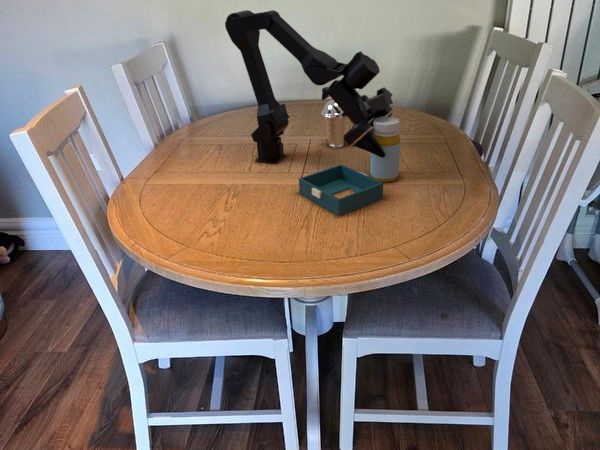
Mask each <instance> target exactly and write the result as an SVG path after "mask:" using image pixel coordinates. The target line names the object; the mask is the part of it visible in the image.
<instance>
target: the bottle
mask: <svg viewBox="0 0 600 450" xmlns="http://www.w3.org/2000/svg"><path fill="white" fill-rule="evenodd" d="M372 128H374V138H375V139H376V140H377V142H378V143H379V145H380V146H381V148H382V149H383V151H384V152H385V154H386V156H385V157H383V158H381V157H379V156H377V155H375V154H373V153H370V171H369V172H370V173H369V174H370V178H373V179H375V180H377V181H379V182H381V183H383V184H384V183H386V184H387V183H392V182H394V181H396V180H397V179H398V178H399V171H400V169H399V168H400V155H401V154H400V153H401V137H400V119H399V118H397V117H395V116H391V117H378V118H376V119H374V121H373V127H372Z"/></svg>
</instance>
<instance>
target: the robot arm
mask: <svg viewBox="0 0 600 450" xmlns="http://www.w3.org/2000/svg"><path fill="white" fill-rule="evenodd" d="M224 26H225V30H226V33H227V35H228V37H229V39H230V40H231V43H233V45H234V46H235V47H236V48H237V49H238V50H239V52H240V55H241V57H242V60H243V63H244V66H245V70H246V72H247V74H248V78H249V82H250V85H251V88H252V90H253V94H254V97H255V101H256V104H257V112H256V121H257V126H258V127H256V128H255V129H254V131H253V132H252V133H251V135H250V136H251V139H252V141H253V143H256V151H257V158H256V159H255V162H258V163H266V164H278V163H279V162H280V161H281V160H282V159H283V158H284V157H285V155H286V154H285V152H284V151H285V150H284V142H282V137H281V136H283V135H284V132H285V130H286V129H287V128H288V125H289V123H290V122H289V118H290V115H289V114H288V112H287V106H286V104H285V103H282V104H280V102H279V101H278V100H277V99H276V96H275V93H274V90H273V88H272V87H273V86H272V84H271V82H270V78H269V74H268V72H267V68H266V65H265V62H264V58H263V55H262V51H261V49H260V35H261V31H262V30H265V31H266V32H267V33H268V34H270V36H272V37H273V39H274V40H276V41H277V42H278V43H279V44H280V45H281V46H282V47H283V48H284V49H285V50H287V51H288V52H289V54H291V55H292V57H294V58H295V59H296V60H297V61H298V62H299V64H300V65H301V67H302V70H303V72H304V74H305V75H306V76H307V78H308V79H309V80H310V81H311V83H312V84H314V85H315V86H325V85H326V84H328V83H330V82H332V83H330V85H329V86H325V87H323V88H322V89H321V100H322V101H325V100H326V99H328V98H330V99H331V100H332V99H333V101H334V102H335V103H336V104H337V105H338V106H339V108H340V109H341V110H342V111H343V113H342V114H341V115H342V116H343V118H344V117H345V116H347V117H348V120H349V121H350V122H351V123H352V127H351V128H350V129H349V130H348V131H347V132H345V135H344V143H345V144H346V145H347V146H348V147H350V146H352V147H353V148H355V147H356V148H358V149H361V150H363V151H365V152H368V153H370V154H371V153H373V154H375V155H377V156H379V157H381V158H383V157H385V156H386V154H385V152H384V151H383V149H382V148H381V146H380V145H379V143H378V142H377V140H376V139H375V138H374V128H373V121H374V119H376V118H378V117H392V115H393V112H392V111H393V110H394V109H393V108H392V107H391V105H393V104H394V102H393V99H392V97H393V93H392V92H391V91H390V90H389V89H387V88H386V87H385V86H384V87H382V88H379V89H378V90H376V94H375V95H374V96H372V97H368V96H367V95H366V94H363V95H361V94H360V93H359V91H358V90H363V89H364V88H366V86H367V85H368V84H369V83H370V82H372V81H373V79H375V77H377V76H378V74H379V73H380V67H379V64H378V63H377V62H376V60H375V59H372V57H370V56H369V55H367V54H364V53H363V52H362V51H360V50H359V51H357V52H356V53H355V54H354V55H353V56H352V58H351V60H350V61H349V62H348V63H343V62H339V61H337V59H335V57H333V56H332V55H330V54H328V53H327V52H326V51H323V50H320V49H318V48H316V47H314V46H312V44H311V43H310V42H309V41H307V40H306V39H305V38H304V37H303V36H302V35H301V34H300V33H299V32H298V31H297V30H296V29H295V28H293V27H292V26H291V24H289V23H288V22H287V20H285V19H284V18H283V17H282V16H281V15H280V13H279V12H278V11H276V10H274V9H271V10H268V11H262V12H255V13H254V12H253V11H251V10H248V9H246V10H241V11H237V12H232V13H230V14H229V15H227V16H226V20H225V21H224ZM260 30H261V31H260ZM342 76H343V77H342ZM340 77H341V79H339V78H340ZM339 80H340V81H339ZM357 89H358V90H357Z"/></svg>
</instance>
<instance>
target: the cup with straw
mask: <svg viewBox="0 0 600 450" xmlns="http://www.w3.org/2000/svg"><path fill="white" fill-rule="evenodd" d="M338 80H339V81H340V80H341V79H338ZM342 113H343V111H342V110H341V109H340V108H339V106H338V105H337V104H336V103H335V102H334V101H333V99H332V98H331V99H330V100H329V101H327V102H326V103H325V105H324V107H323V109H321V116H323V119H324V123H325V126H326V135H327V142H328V146H329V147H330V148H334V149H339V148H342V147H344V146H345V141H344V135H345V134H346V130H347V123H348V120H349V118H348V117H347V116H345V117H344V118H343V116H342V115H341V114H342Z"/></svg>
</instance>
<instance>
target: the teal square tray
mask: <svg viewBox="0 0 600 450" xmlns="http://www.w3.org/2000/svg"><path fill="white" fill-rule="evenodd" d="M298 189H299V191H298V193H299V194H300V195H302V196H303V197H305V198H307V199H309V201H311V202H314V203H315V204H317V205H319V206H320V207H322V208H324V209H326V210H327V211H329V212H331V213H332V214H334V215H336V216H338V217H341V216H343V215H346V214H348V213H350V212H353V211H356V210H358V209H361V208H363V207H365V206H369V205H371V204H373V203H376V202H378V201H380V200H383V197H384V183H382V182H379V181H377V180H375V179H373V178H372V177H371V176H368V174H366V173H364V172H361V171H357V170H356V169H353V168H350V167H348V166H346V165H344V164H342V163H340V164H338V165H334V166H331V167H329V168H326V169H322V170H320V171H317V172H313V173H310V174H308V175H305V176H302V177H299V178H298ZM346 190H351V191H353V193H350V194H348V195H345V196H341V197H340V198H339V197H337V196H335V194H338V193H341V192H343V191H346Z"/></svg>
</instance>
